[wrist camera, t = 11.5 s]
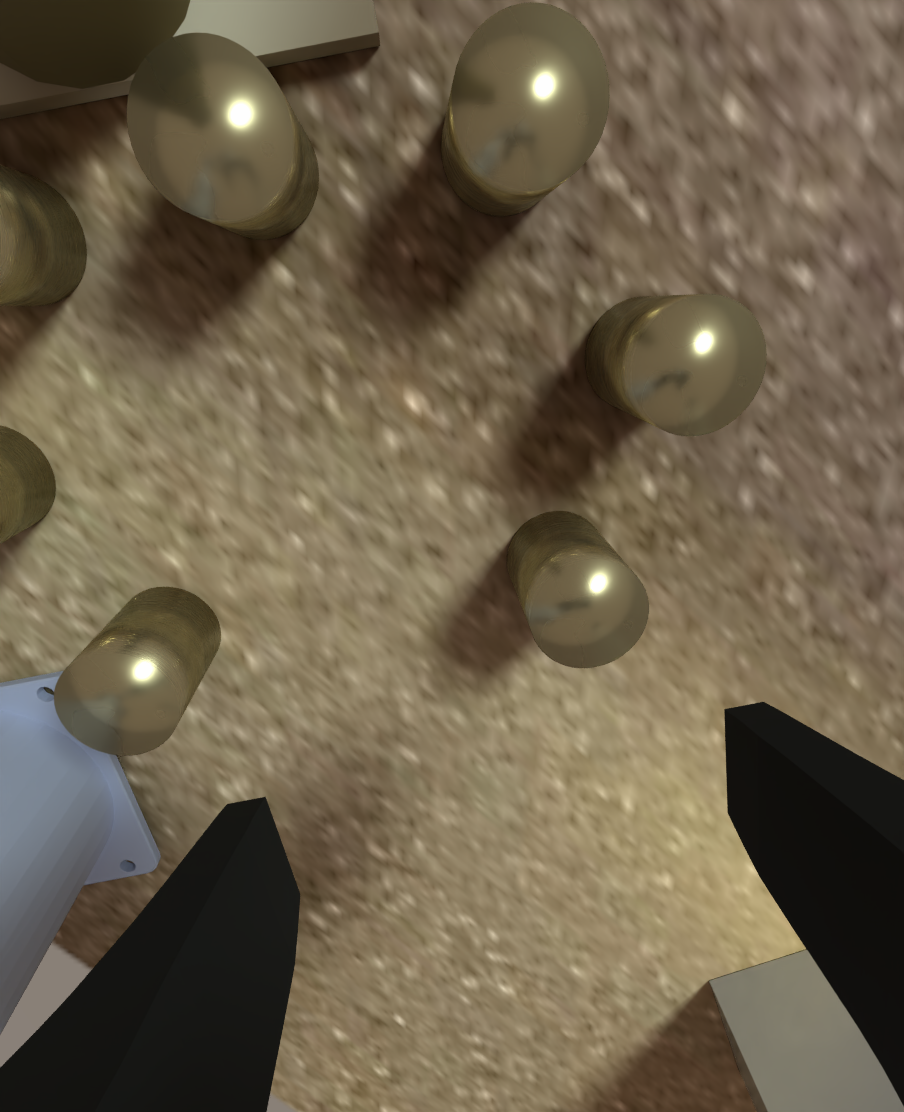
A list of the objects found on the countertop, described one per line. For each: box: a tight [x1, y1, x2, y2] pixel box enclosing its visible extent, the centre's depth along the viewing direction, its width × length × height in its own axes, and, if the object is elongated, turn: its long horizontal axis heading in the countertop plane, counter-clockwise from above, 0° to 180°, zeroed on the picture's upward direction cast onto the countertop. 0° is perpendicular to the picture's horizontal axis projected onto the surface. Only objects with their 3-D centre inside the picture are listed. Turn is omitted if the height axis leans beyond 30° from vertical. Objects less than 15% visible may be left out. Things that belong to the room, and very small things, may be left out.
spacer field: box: [0, 3, 767, 756], centre depth 16 cm, size 21×14×4 cm
